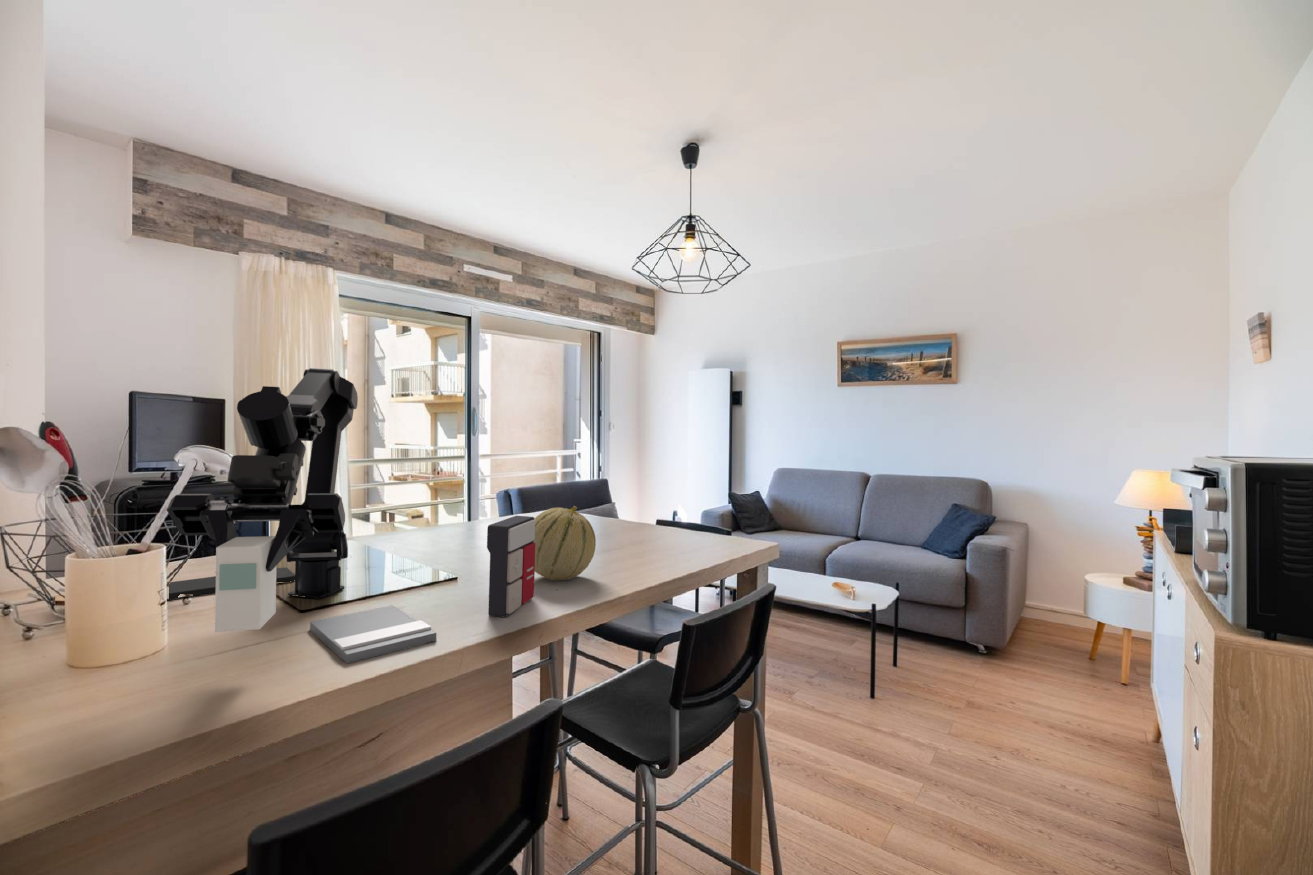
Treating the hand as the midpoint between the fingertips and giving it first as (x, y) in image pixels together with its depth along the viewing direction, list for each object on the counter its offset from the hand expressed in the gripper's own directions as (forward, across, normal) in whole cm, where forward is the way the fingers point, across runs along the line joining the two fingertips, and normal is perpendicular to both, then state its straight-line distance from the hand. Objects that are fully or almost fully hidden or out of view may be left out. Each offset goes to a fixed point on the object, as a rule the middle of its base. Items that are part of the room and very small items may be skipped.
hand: (244, 570), depth 70 cm
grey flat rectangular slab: (+1, +13, +17) cm, 21 cm away
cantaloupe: (-16, +44, +35) cm, 58 cm away
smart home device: (-20, -16, +40) cm, 47 cm away
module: (+4, 0, +5) cm, 7 cm away
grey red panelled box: (-5, +33, +23) cm, 41 cm away
